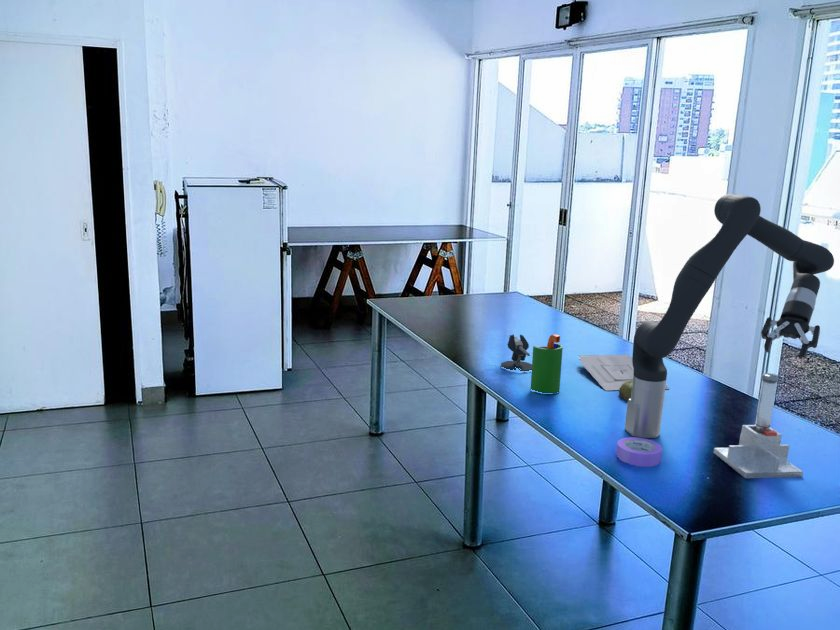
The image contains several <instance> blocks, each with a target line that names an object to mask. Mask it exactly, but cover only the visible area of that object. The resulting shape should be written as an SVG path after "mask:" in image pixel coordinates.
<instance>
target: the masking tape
mask: <svg viewBox="0 0 840 630" xmlns="http://www.w3.org/2000/svg"><path fill="white" fill-rule="evenodd" d="M616 445H617V447H616V453H615V454H616V455H617V456H616V455H615V456H616V457H618V458H619V459H618V460H619V461H622V462H623V463H625V462H626V463H625V464H627V463H628V465H631V466H634V465H635V466H634V467H641V468H642V467H643V468H644V467H645V468H652V467H656V466H658V465H660V464H661V462H662V454H663V452H662V451H663V448H662V446H661V445H660V444H659V443H658V442H657V441H654V440H650V439H649V438H642V437H637V436H632V437H631V436H630V437H623V438H621V439H619V440H618V441H617V444H616Z"/></svg>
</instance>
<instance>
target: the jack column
mask: <svg viewBox="0 0 840 630" xmlns="http://www.w3.org/2000/svg"><path fill="white" fill-rule="evenodd" d="M779 378H780V377H779V375H777V374H775V373H769V372H763V373H762V374H761V385H760V391H759V397H758V403H757V411H756V417H755V422H754V425H755V429H754V431H755V432H757V433H758V434H763V430H769V429H770V427H771V422H772V415H773V411H774V405H775V404H774V403H775V398H776V396H775V395H776V393H777V392H776V391H777V384H778V382H779Z"/></svg>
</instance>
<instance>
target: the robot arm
mask: <svg viewBox="0 0 840 630" xmlns="http://www.w3.org/2000/svg"><path fill="white" fill-rule="evenodd" d="M761 208H762V207H761V204H760V201H759V200H758V199H756V198H754V197H753V196H749V195H743V194H737V193H728V194H725V195H723V196H721V197H720V198H719V199H718V200H717V201H716V203H715V205H714V216H715V218H716V220H717V221H718V222H719V223H720V224H721V228H719V230H718V232H717V233H716V234H715V236H714V237H713V238H711V239H710V241H708V242H707V243H706V244H705V245H703V246H702V247H700V248H699V249H698V250H696V251H695V252H694V253H693V254H692V255H691V256H689V258H688V259H687V261H686V262H685V264H684V265H683V266H682V268H681V270H680V271H679V273H678V275H677V276H676V279H675V281H674V284H673V289H672V293H671V294H672V295H671V299H670V303H669V305H668V308H667V310H666V312H665V314H664V315H663V317H662V318H660V319H661V320H660V321H659V322H657V321H655V320H647V321H644V322H642V323H640V325H638V327H637V328H636V330H635V332H634V336H633V343H632V356H631V357H632V364H633V368H634V374H633V384H632V392H631V399H628V401H627V405H626V414H625V422H624V429H625V431H626V432H628V433H629V435H631V436H632V437H637V438H644V439H655V438H658V437H659V436H660V433H661V429H662V428H661V427H662V418H663V417H662V416H663V410H664V402H665V394H666V389H665V387H666V386H667V377H668V370H667V367H666V366H665V363H664V360H663V358H666V357H669V355H670V354H671V353H672V352H673V351H674V350H675V348H676V347H677V346H678V345H677V344H678V342H679V341H680V339H681V337H682V336H683V333H684V331H685V330H686V327H687V325H688V324H689V321H690V320H691V318H692V316H693V315H694V313H695V312H696V310H697V308H698V307H699V305H700V304H701V302H702V300H703V299H704V297H705V296H706V295H707V294H708V292H709V290H710V289H711V288H712V286H713V284H714V283H715V281H716V279H717V278H718V276H719V275H720V273H721V271H722V270H723V268H724V267H725V265H726V264H727V262H728V261H729V259H730V258H731V256H732V255H733V253H734V252H735V251H736V249H737V248H738V246H739V245H740V244H741V243H742V241H743V240H744V239H745V238H746V236H749V237H751V238H752V239H754V240H756V241H758V242H759V243H760V244H762V245H764V246H766V247H767V248H768V249H770V250H771V251H772V252H774V253H776V254H777V255H778V256H781V258H783V259H785V260H787V261H788V262H792V274H793V281H792V284H791V286H790V290H789V293H788V294H787V296H786V298H785V302H784V305H783V308H782V311H781V314H780V318H779V319H778V320H775V319H772V317H767V318H766V320H765V322H764V324H763V327H762V329H761V330H760V331H761V332H760V334H761V338H762V340H765V342H764V345H763V346H764V347H763V348H764V351H765V353H770V351H771V348H772V345H773V341H775V340H778V339H780V338H782V337H783V338H787V339H788V338H790V339H793V340H797V339H798V340H799V342H800V343H801V344H802V345H801V347H800V350H799V354H798V358H799V360H803V358H806V357H807V353H808V351H809V348H813V349H816V348H817V347H818V343H819V338H820V334H821V327H820V325H815V326H811V325H810V322H811V320H812V316H813V313H814V310H815V306H816V302H817V296H818V293H819V290H820V286H821V280H820V279H819V277H817V274H822V273H825V272H828V271H829V270H831V269H832V268H833V267H834V265H835V257H834V255H833V254H832V252H831V251H830V250H829V249H828V248H827V247H825V246H822V245H820V244H817V243H814V242H812V241H808V240H804V239H803V238H801V237H800V236H798V235H796V234H795V233H793V232H792V231H790V230H789V229H787V228H785V227H783V226H781V225H779V224H776V223H775V222H774V221H771V220H768V219H766V218H764V217H763V216H761ZM775 326H776V328H774V327H775ZM772 328H774V329H773V330H772V331H771V332H770V330H771V329H772ZM809 331H810V333H811V335H812V338H811V340H809V339H808V338H807V336H806V335H807V333H809Z"/></svg>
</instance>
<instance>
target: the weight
mask: <svg viewBox="0 0 840 630" xmlns="http://www.w3.org/2000/svg"><path fill="white" fill-rule="evenodd" d="M632 384H633V380H632V381H627V382H625V383H623V384H622V386H621V387H620V389H619V390H618V394H619V397H620V398H622V399H624V400H625V401H627V402H628V399H631V392H632Z"/></svg>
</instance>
